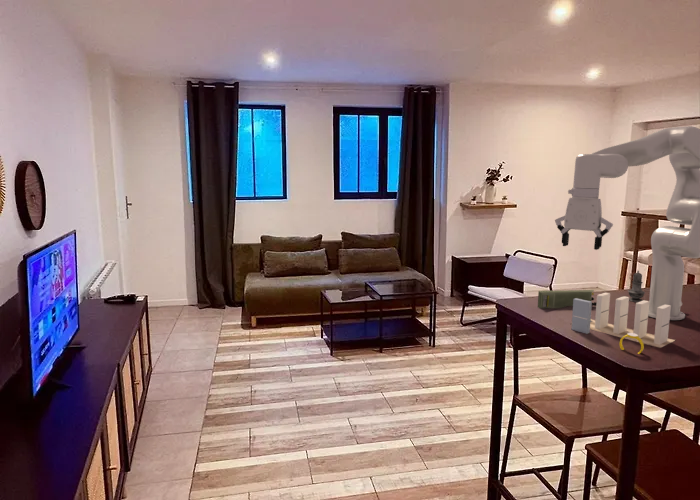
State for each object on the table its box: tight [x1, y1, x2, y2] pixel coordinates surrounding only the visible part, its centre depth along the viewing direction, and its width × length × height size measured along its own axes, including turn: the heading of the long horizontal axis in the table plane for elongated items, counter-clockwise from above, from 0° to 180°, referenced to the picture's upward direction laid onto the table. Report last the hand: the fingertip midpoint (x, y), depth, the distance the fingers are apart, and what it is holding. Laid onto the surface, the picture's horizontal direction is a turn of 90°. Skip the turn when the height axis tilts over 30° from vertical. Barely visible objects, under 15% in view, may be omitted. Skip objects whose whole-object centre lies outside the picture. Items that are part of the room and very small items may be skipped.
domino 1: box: [571, 298, 593, 335], centre depth 160 cm, size 2×5×11 cm, turn 36°
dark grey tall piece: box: [627, 270, 646, 303], centre depth 195 cm, size 6×6×12 cm
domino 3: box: [613, 296, 630, 334], centre depth 158 cm, size 2×5×11 cm, turn 126°
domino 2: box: [594, 292, 611, 329], centre depth 163 cm, size 2×5×11 cm, turn 126°
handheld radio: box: [537, 289, 597, 309], centre depth 188 cm, size 7×3×25 cm
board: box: [570, 318, 676, 349], centre depth 159 cm, size 10×28×1 cm, turn 36°
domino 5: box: [654, 305, 671, 345], centre depth 149 cm, size 2×5×11 cm, turn 126°
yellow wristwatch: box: [619, 333, 645, 355], centre depth 143 cm, size 6×3×6 cm, turn 45°
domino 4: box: [633, 299, 649, 338], centre depth 153 cm, size 2×5×11 cm, turn 126°
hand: (580, 247), depth 160 cm, fingers open, 9 cm apart
